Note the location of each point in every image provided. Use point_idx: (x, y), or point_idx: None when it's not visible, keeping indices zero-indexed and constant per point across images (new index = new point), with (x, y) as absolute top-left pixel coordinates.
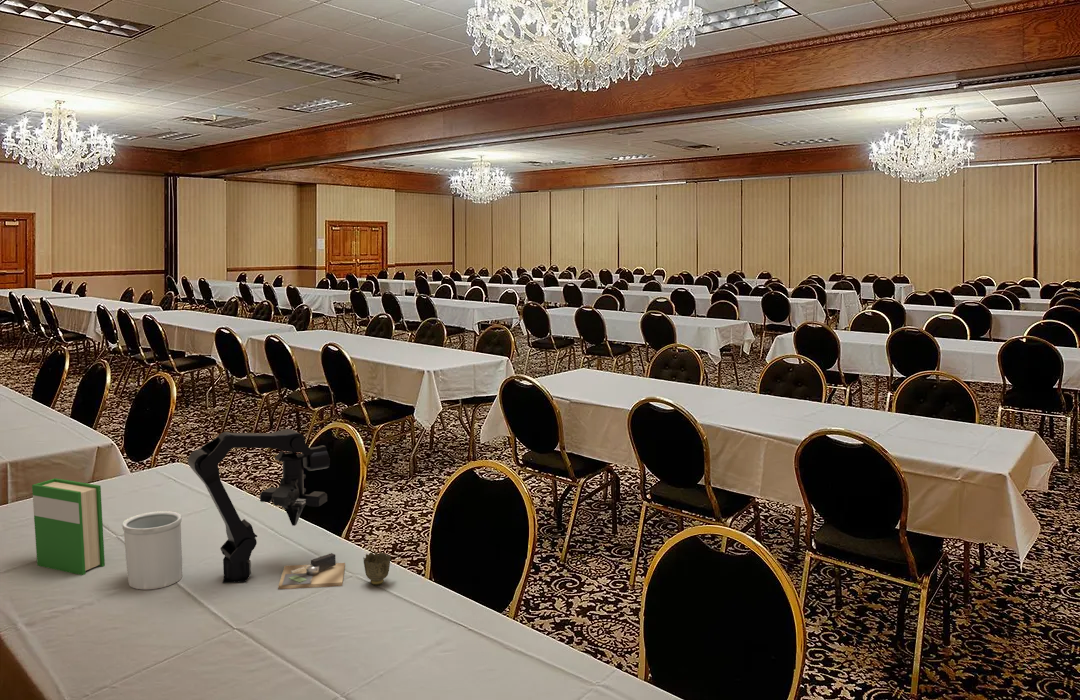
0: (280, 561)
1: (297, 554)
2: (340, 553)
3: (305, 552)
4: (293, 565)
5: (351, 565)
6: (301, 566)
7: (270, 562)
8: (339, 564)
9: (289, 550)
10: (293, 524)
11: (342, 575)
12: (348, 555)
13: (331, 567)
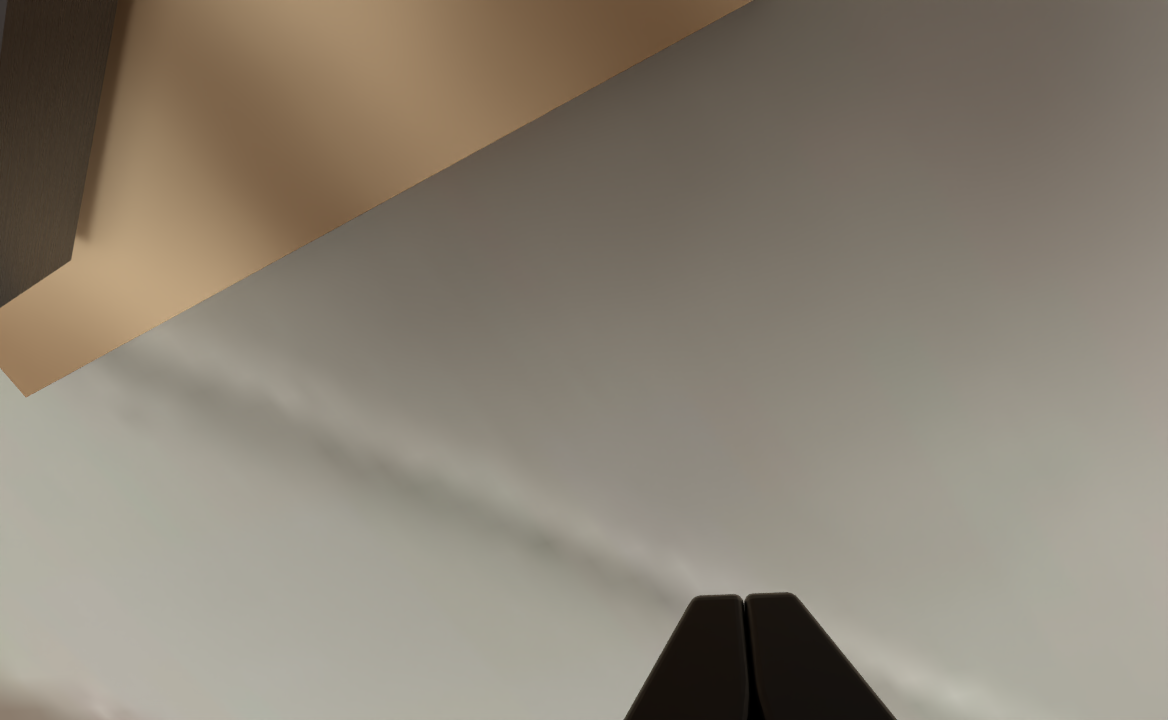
0: (993, 229)
1: (874, 506)
2: (378, 664)
3: (804, 585)
4: (632, 56)
5: (3, 416)
6: (484, 68)
7: (1139, 142)
8: (43, 327)
9: (1052, 582)
10: (731, 612)
11: None
12: (256, 643)
13: None
